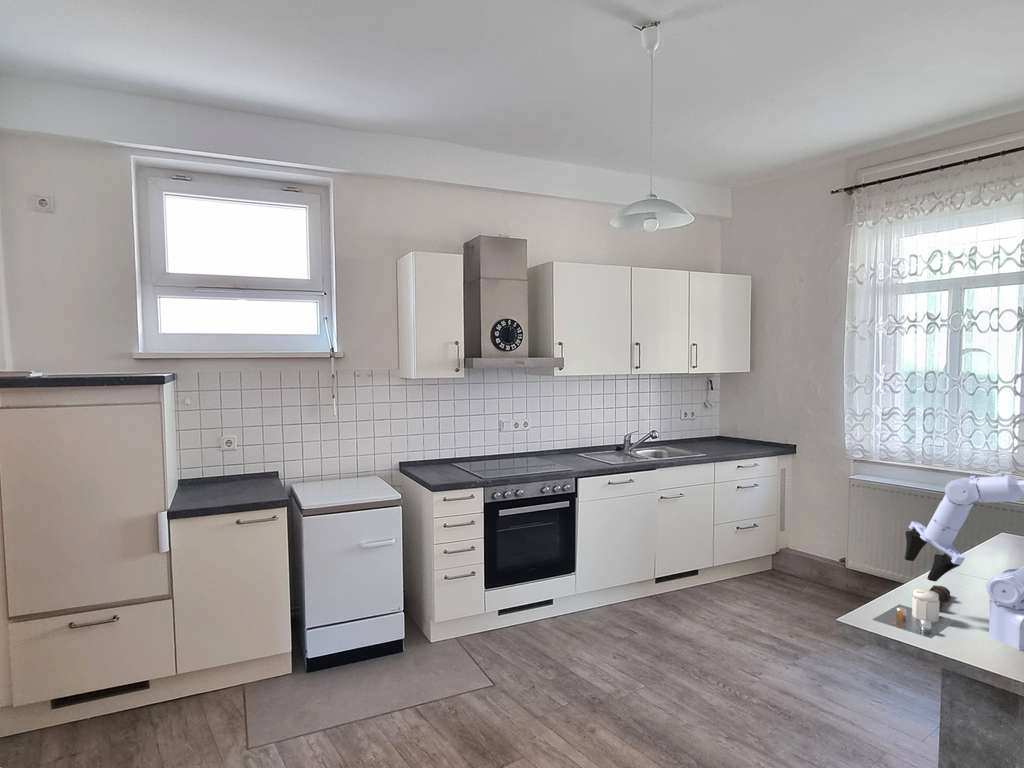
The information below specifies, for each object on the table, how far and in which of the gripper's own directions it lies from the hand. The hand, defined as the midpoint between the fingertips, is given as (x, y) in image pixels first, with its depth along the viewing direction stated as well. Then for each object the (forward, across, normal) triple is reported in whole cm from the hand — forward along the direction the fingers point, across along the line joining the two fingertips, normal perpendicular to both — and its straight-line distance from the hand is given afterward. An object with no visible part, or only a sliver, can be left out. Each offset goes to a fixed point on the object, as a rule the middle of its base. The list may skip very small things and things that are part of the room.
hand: (919, 569), depth 144 cm
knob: (+9, +7, 0) cm, 11 cm away
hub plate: (+10, +8, -4) cm, 13 cm away
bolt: (+11, -1, +12) cm, 16 cm away
